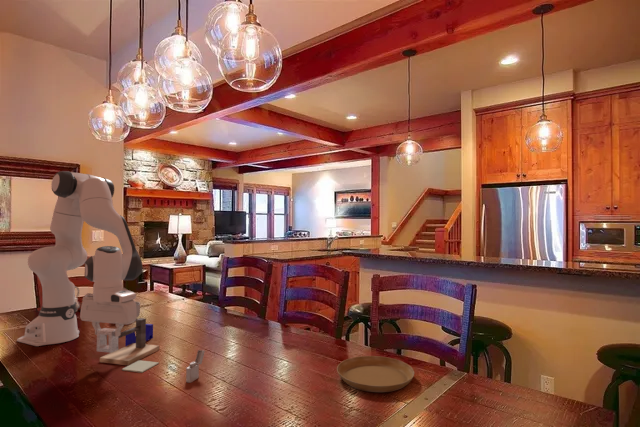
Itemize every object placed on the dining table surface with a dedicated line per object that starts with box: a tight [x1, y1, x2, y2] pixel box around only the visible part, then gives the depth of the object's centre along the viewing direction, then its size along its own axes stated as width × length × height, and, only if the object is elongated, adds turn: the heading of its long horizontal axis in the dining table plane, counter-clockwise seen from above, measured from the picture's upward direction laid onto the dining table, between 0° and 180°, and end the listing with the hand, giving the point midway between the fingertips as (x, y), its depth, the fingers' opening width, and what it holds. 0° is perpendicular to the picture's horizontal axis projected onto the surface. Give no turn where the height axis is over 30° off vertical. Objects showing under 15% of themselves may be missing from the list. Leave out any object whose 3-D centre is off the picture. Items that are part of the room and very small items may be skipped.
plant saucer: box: [336, 355, 415, 393], centre depth 117 cm, size 24×24×3 cm
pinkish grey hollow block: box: [96, 327, 119, 354], centre depth 126 cm, size 6×3×7 cm, turn 76°
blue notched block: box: [124, 323, 154, 347], centre depth 152 cm, size 12×4×6 cm, turn 165°
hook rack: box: [99, 317, 161, 366], centre depth 137 cm, size 12×16×12 cm
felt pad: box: [121, 359, 159, 374], centre depth 126 cm, size 8×8×1 cm
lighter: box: [185, 349, 206, 383], centre depth 118 cm, size 7×2×8 cm, turn 162°
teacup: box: [135, 301, 141, 319], centre depth 186 cm, size 14×11×8 cm
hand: (107, 335), depth 126 cm, fingers closed on pinkish grey hollow block, 6 cm apart
